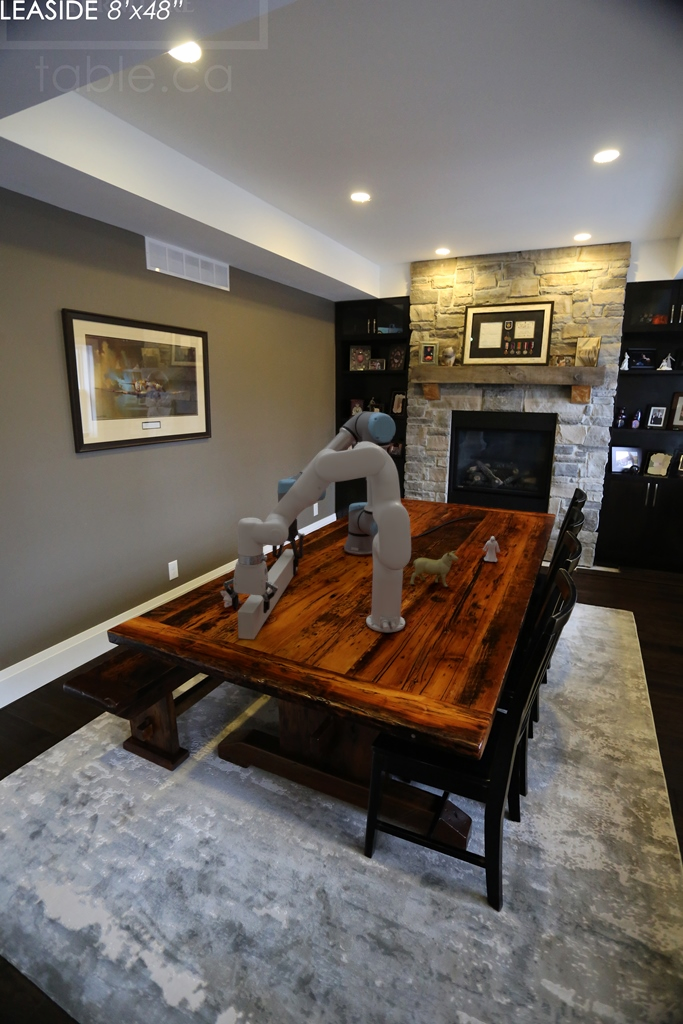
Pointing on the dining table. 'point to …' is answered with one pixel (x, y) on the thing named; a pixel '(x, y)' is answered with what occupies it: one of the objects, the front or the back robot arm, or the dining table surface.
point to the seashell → (227, 599)
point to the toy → (434, 567)
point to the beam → (253, 607)
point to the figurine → (491, 550)
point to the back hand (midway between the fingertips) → (288, 573)
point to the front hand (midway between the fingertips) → (250, 610)
